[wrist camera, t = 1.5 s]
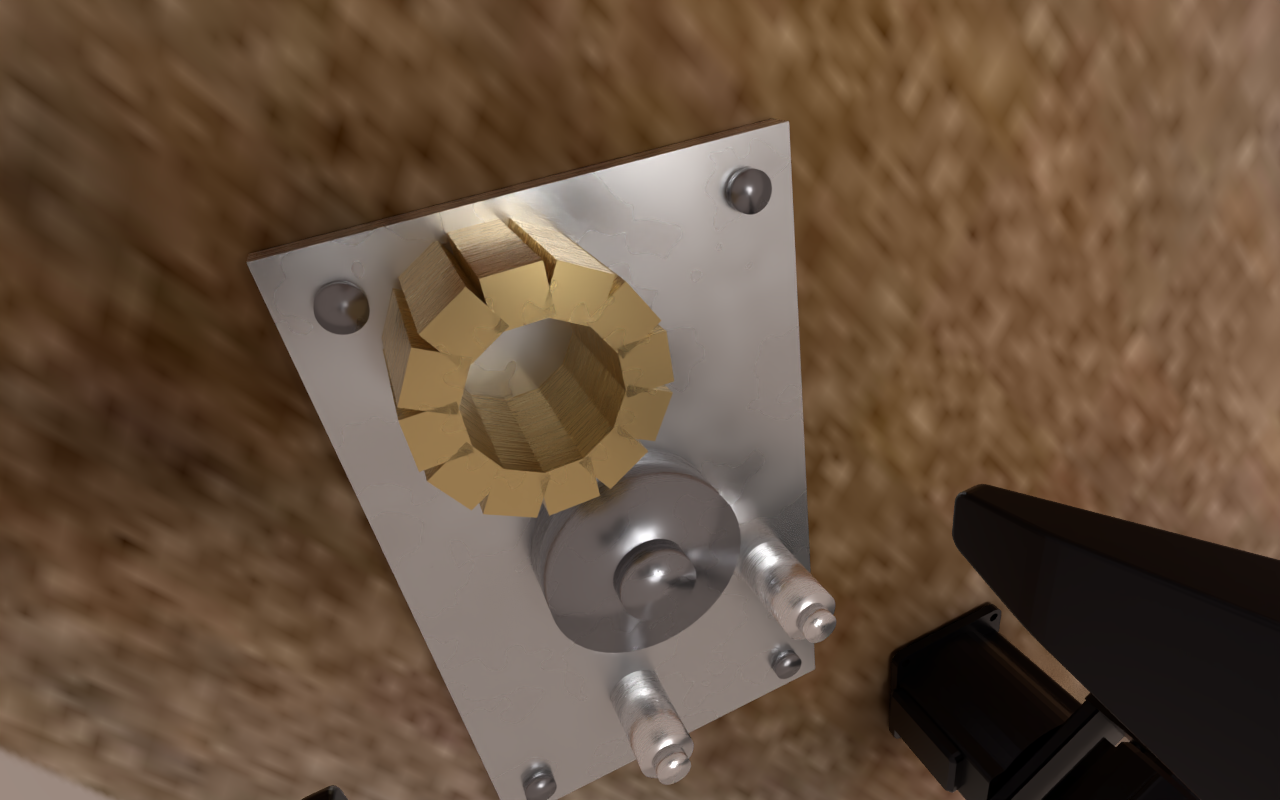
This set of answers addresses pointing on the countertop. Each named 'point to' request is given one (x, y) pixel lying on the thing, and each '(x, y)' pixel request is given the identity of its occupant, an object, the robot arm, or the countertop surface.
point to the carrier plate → (701, 419)
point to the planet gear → (541, 418)
